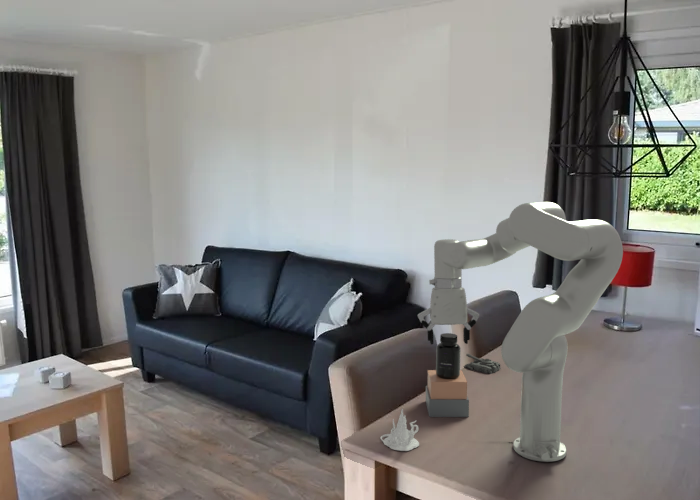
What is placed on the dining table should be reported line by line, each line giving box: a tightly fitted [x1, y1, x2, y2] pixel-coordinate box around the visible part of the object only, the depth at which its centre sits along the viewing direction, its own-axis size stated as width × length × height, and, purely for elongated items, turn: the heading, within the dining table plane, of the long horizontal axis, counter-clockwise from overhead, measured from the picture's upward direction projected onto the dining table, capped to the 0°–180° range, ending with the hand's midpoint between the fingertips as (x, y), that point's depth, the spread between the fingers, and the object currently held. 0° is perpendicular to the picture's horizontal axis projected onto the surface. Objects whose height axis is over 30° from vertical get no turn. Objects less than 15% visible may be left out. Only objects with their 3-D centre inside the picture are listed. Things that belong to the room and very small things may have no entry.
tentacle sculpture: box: [380, 408, 420, 452], centre depth 151 cm, size 9×12×9 cm
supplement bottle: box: [435, 332, 461, 379], centre depth 171 cm, size 7×7×12 cm
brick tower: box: [425, 369, 470, 418], centre depth 172 cm, size 11×11×10 cm
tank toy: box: [463, 353, 501, 375], centre depth 206 cm, size 12×10×5 cm
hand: (448, 342), depth 170 cm, fingers open, 9 cm apart
